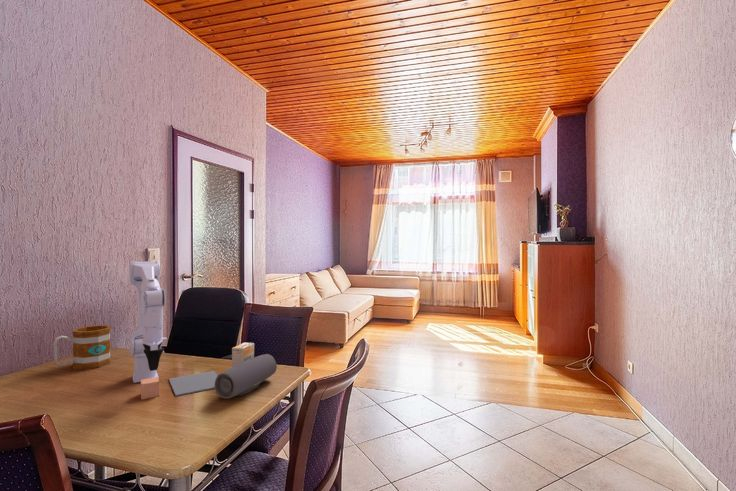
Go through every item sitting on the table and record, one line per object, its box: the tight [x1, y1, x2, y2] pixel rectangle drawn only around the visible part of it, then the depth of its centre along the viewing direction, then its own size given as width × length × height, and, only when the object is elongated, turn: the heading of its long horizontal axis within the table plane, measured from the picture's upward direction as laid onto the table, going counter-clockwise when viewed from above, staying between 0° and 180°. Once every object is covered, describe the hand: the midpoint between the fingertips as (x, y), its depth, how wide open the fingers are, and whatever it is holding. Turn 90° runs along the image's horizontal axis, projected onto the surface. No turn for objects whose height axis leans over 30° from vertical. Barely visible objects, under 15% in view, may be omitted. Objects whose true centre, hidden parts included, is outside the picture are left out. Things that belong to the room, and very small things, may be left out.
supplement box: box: [231, 342, 255, 368], centre depth 140 cm, size 8×5×13 cm, turn 168°
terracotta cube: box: [140, 376, 160, 400], centre depth 125 cm, size 5×5×5 cm
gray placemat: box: [168, 370, 219, 397], centre depth 136 cm, size 18×16×1 cm
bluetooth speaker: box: [214, 353, 278, 400], centre depth 131 cm, size 23×9×10 cm, turn 159°
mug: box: [52, 324, 112, 371], centre depth 154 cm, size 20×14×15 cm
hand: (153, 366), depth 125 cm, fingers open, 7 cm apart
